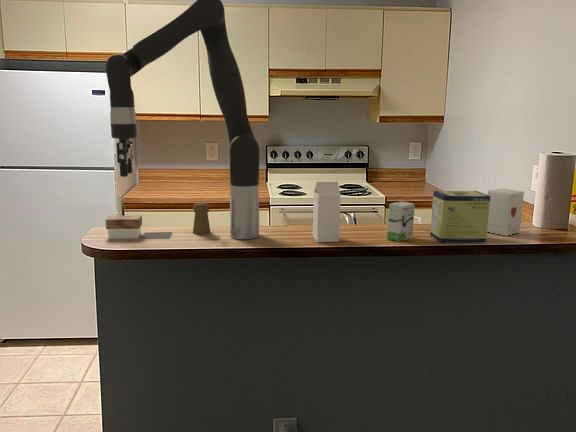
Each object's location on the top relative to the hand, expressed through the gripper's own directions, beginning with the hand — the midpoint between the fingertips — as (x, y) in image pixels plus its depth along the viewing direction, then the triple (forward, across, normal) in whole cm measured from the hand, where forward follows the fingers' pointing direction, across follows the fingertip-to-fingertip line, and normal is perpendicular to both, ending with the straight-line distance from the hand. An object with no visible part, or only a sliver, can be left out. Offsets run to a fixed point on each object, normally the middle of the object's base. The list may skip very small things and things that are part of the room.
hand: (126, 174), depth 164 cm
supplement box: (+22, -2, -127) cm, 129 cm away
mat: (+20, -2, -9) cm, 22 cm away
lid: (+16, -1, +1) cm, 16 cm away
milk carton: (+21, -7, -62) cm, 66 cm away
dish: (+20, -1, +1) cm, 20 cm away
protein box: (+22, -10, -107) cm, 109 cm away
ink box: (+22, -8, -88) cm, 90 cm away
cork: (+21, +1, -23) cm, 31 cm away
